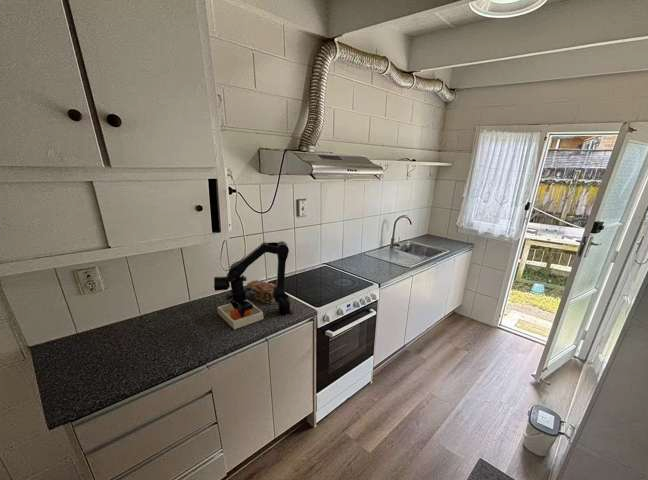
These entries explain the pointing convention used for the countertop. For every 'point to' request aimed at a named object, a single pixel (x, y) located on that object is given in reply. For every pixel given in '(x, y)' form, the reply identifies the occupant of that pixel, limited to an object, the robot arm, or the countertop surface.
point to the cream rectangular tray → (254, 317)
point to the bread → (262, 291)
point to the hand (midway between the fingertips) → (240, 315)
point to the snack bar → (236, 315)
